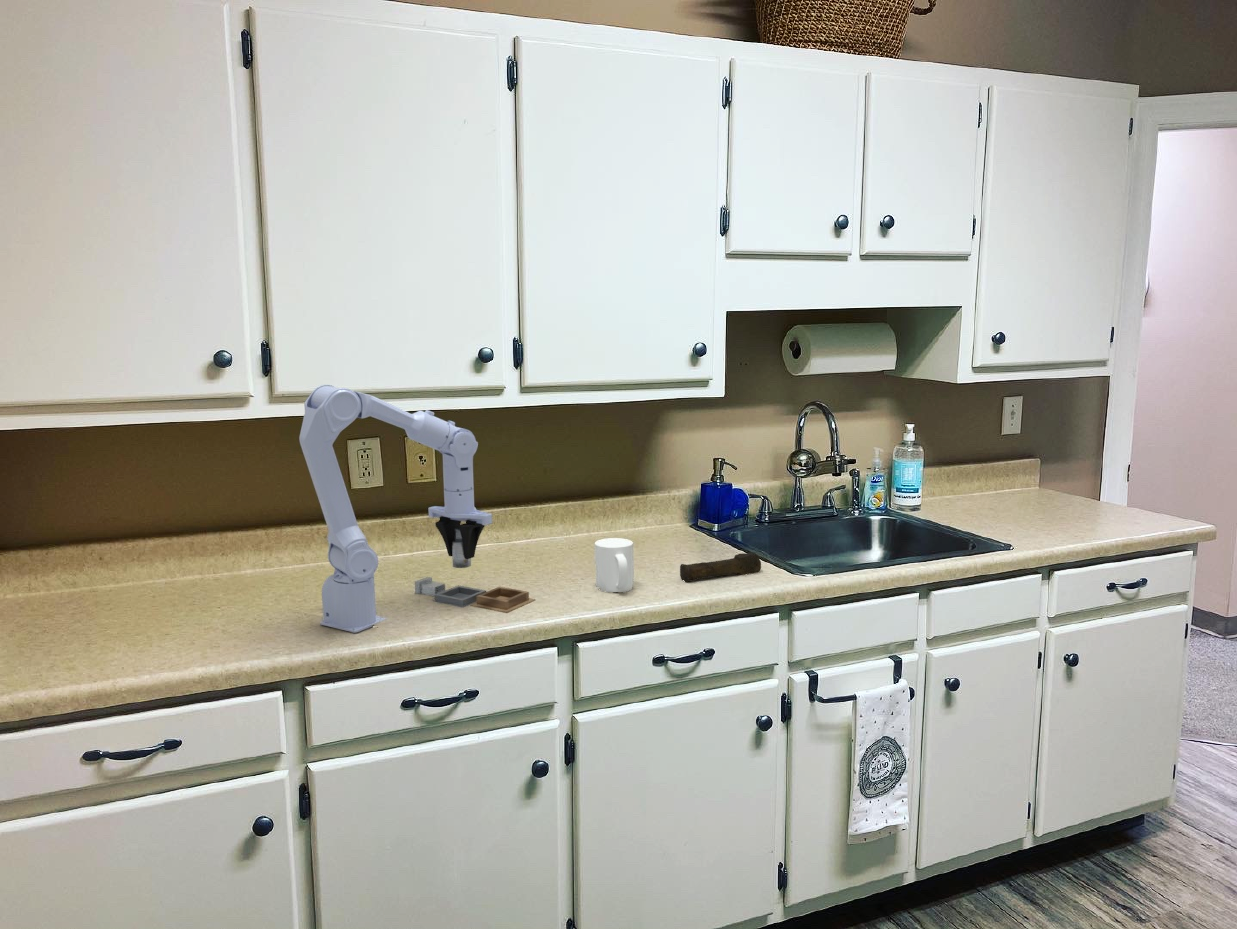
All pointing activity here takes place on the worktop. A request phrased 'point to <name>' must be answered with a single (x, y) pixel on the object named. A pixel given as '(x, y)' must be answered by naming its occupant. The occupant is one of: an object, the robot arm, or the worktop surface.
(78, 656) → the worktop surface
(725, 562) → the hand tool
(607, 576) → the mug
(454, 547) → the stepped metal cylinder
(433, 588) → the grey stepped block
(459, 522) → the robot arm
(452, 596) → the grey square tray
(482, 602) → the brown square tray
